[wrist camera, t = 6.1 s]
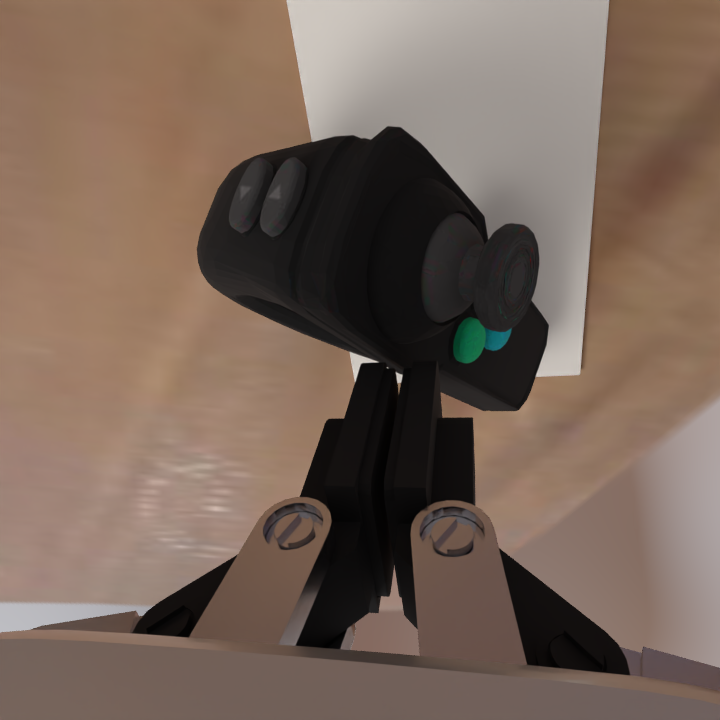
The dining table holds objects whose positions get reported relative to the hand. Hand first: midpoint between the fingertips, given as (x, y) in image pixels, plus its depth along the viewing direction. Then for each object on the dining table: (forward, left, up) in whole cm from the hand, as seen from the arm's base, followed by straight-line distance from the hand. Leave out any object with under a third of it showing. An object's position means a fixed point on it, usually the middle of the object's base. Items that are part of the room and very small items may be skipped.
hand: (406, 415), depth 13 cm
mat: (-2, +1, -9) cm, 9 cm away
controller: (-1, -5, -7) cm, 9 cm away
